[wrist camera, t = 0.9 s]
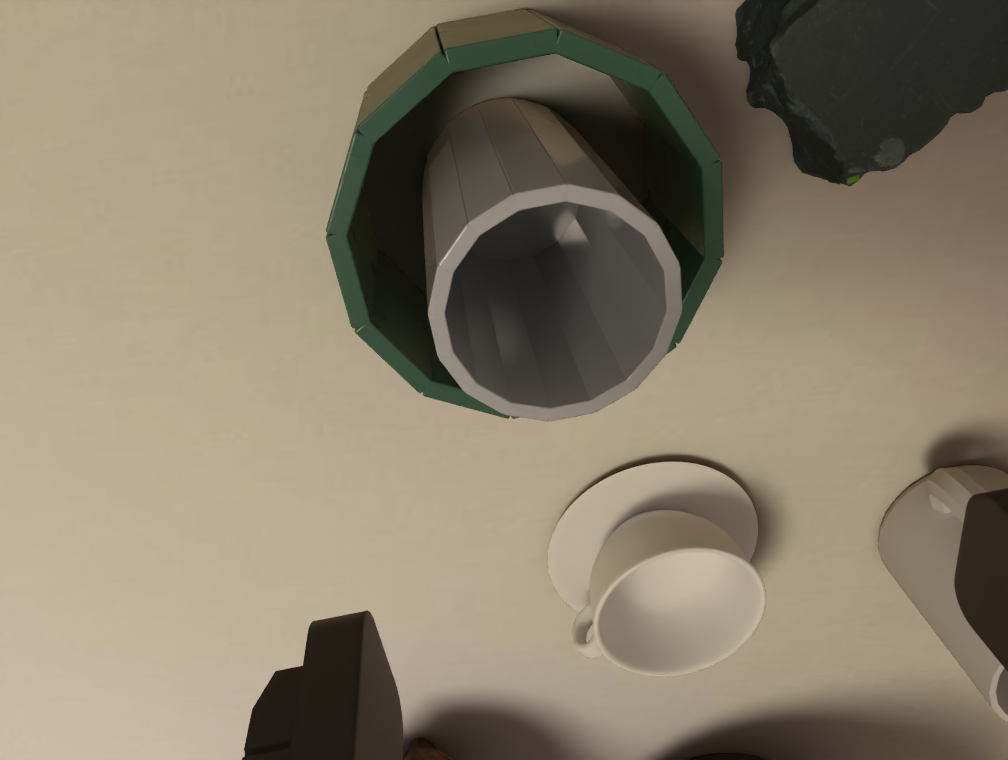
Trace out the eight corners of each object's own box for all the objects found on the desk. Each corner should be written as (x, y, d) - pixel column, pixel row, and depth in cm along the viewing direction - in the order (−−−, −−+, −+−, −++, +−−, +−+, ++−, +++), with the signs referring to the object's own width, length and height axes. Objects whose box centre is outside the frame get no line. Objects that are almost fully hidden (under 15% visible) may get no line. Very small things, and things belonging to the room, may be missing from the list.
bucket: (308, 47, 25) (280, 79, 20) (650, -16, 25) (719, -3, 20) (389, 351, 31) (384, 444, 25) (669, 298, 31) (727, 378, 25)
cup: (898, 597, 41) (1012, 752, 33) (833, 470, 36) (949, 615, 28) (1033, 532, 39) (1185, 676, 32) (983, 391, 35) (1147, 519, 27)
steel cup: (406, 115, 27) (404, 214, 17) (580, 82, 27) (675, 163, 17) (441, 278, 30) (456, 440, 20) (598, 248, 30) (687, 395, 20)
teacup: (684, 415, 34) (721, 480, 30) (790, 545, 38) (835, 618, 34) (502, 540, 36) (514, 616, 32) (622, 649, 41) (645, 728, 36)
